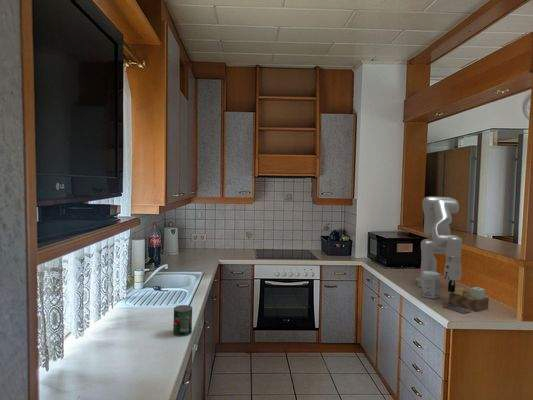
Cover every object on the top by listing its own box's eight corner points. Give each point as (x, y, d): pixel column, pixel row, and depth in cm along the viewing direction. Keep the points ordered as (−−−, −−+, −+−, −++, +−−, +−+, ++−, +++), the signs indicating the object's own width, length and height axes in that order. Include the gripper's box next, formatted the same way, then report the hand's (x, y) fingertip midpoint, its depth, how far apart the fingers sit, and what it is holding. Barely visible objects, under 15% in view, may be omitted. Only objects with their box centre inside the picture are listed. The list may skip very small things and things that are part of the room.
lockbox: (448, 303, 228) (449, 292, 227) (460, 300, 234) (461, 290, 234) (476, 311, 214) (476, 300, 214) (488, 308, 221) (488, 297, 220)
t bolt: (450, 292, 227) (451, 287, 227) (456, 291, 230) (457, 286, 230) (462, 295, 221) (462, 290, 221) (468, 294, 224) (468, 289, 224)
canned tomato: (169, 333, 171) (169, 308, 170) (183, 327, 177) (184, 303, 177) (181, 338, 166) (181, 312, 166) (195, 332, 172) (196, 308, 172)
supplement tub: (433, 294, 244) (435, 270, 243) (441, 299, 235) (443, 274, 234) (418, 294, 244) (420, 270, 243) (425, 299, 234) (427, 274, 233)
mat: (443, 307, 220) (443, 306, 220) (450, 305, 223) (450, 304, 223) (463, 314, 210) (463, 313, 210) (471, 312, 213) (471, 311, 213)
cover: (470, 296, 220) (471, 286, 220) (475, 295, 223) (476, 285, 223) (479, 299, 216) (480, 289, 216) (484, 298, 219) (485, 287, 218)
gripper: (451, 261, 213) (449, 295, 213) (467, 259, 221) (465, 291, 222) (439, 258, 219) (437, 291, 220) (454, 257, 227) (452, 288, 228)
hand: (451, 291), depth 221 cm, fingers closed
